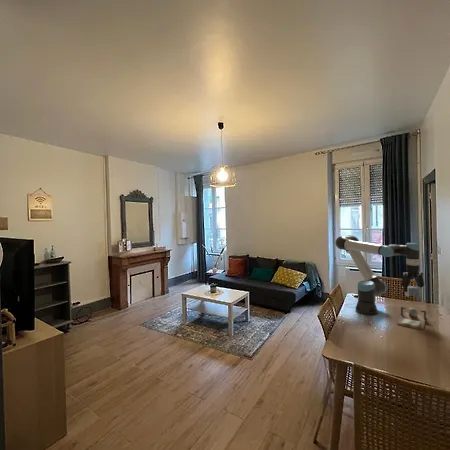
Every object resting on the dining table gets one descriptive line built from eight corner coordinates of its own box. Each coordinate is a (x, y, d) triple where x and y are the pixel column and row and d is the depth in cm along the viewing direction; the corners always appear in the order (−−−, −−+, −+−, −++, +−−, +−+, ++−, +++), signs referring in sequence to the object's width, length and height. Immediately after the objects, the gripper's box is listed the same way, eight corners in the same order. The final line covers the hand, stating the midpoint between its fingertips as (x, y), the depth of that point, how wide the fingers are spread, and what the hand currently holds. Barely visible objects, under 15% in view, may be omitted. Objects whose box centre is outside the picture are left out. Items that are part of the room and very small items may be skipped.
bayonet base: (397, 324, 171) (397, 314, 171) (402, 313, 191) (402, 303, 191) (424, 330, 162) (423, 319, 162) (426, 317, 181) (426, 308, 181)
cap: (401, 292, 186) (401, 285, 186) (412, 292, 186) (411, 284, 186) (413, 296, 175) (413, 289, 175) (424, 296, 175) (424, 288, 175)
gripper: (402, 266, 176) (402, 298, 176) (431, 265, 177) (431, 297, 177) (394, 264, 183) (395, 294, 184) (422, 263, 184) (422, 293, 185)
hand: (412, 295), depth 181 cm, fingers closed on cap, 8 cm apart
